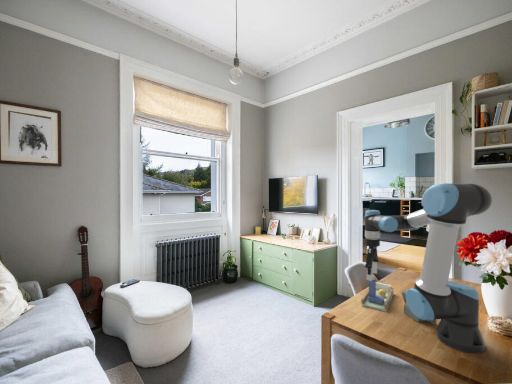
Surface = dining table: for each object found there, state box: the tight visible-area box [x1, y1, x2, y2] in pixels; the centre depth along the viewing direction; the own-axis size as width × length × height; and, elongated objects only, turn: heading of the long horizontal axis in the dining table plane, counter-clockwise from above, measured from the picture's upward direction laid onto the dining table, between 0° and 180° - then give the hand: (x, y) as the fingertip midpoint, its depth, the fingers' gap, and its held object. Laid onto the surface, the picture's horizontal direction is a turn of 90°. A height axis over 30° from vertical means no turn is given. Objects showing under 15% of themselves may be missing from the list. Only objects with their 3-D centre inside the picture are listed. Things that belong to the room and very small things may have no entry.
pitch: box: [360, 281, 394, 313], centre depth 141 cm, size 27×12×6 cm, turn 145°
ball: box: [378, 289, 386, 297], centre depth 143 cm, size 4×4×4 cm
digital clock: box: [401, 289, 437, 325], centre depth 121 cm, size 16×9×11 cm, turn 1°
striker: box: [368, 274, 384, 304], centre depth 136 cm, size 6×7×14 cm
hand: (371, 276), depth 138 cm, fingers open, 13 cm apart
